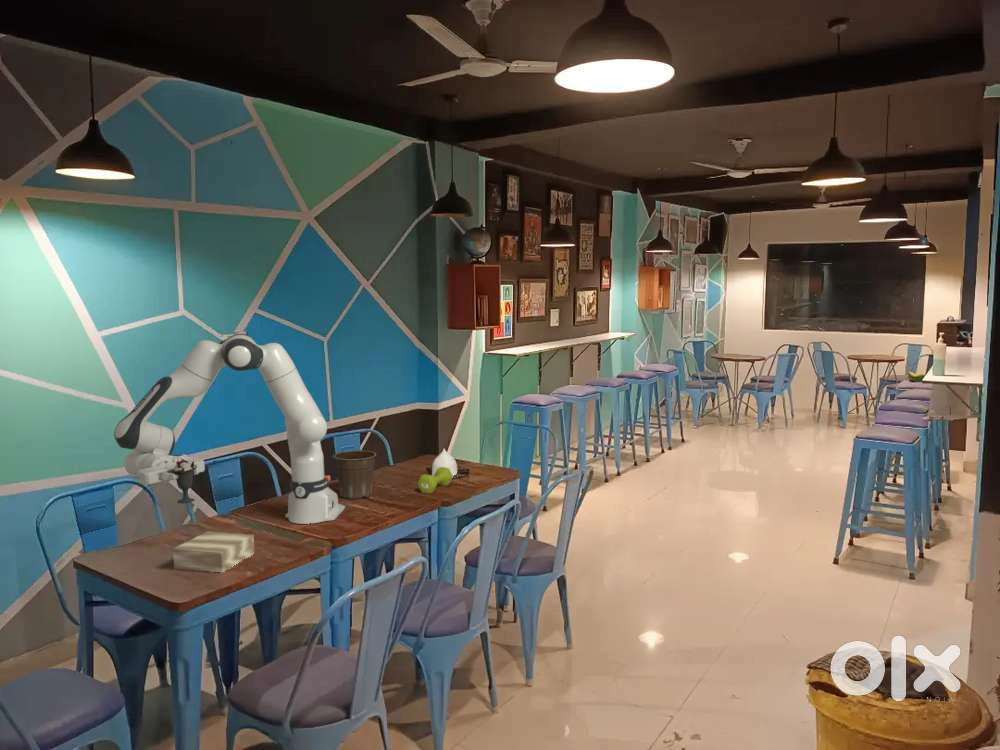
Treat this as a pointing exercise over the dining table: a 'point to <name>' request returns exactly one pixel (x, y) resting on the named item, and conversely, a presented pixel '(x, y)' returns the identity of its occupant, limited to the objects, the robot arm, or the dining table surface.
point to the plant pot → (355, 473)
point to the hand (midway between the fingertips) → (186, 474)
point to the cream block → (213, 551)
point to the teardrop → (445, 463)
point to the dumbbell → (435, 480)
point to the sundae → (184, 478)
